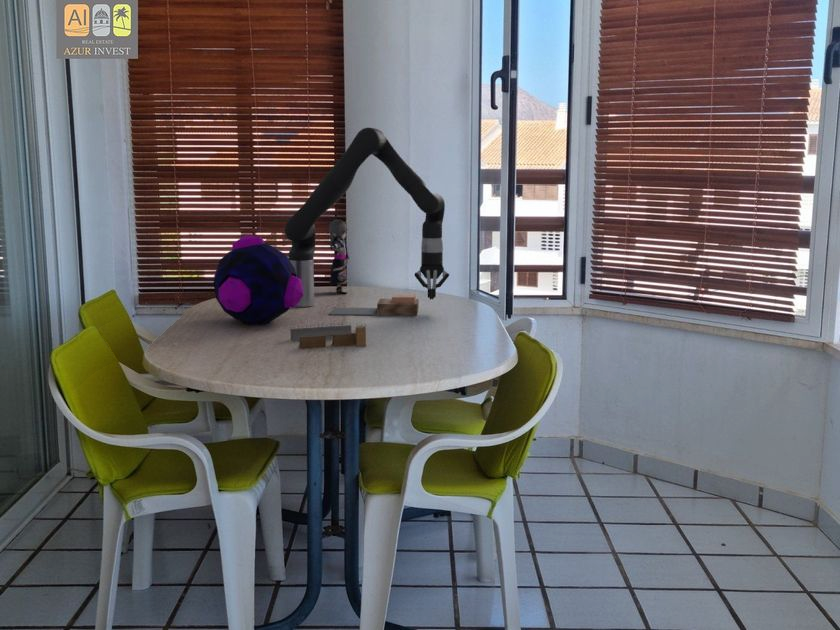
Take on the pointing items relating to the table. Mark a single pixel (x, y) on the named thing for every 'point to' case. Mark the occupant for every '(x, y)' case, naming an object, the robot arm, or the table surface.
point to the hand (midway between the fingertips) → (431, 298)
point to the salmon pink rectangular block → (403, 299)
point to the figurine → (338, 255)
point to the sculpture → (256, 282)
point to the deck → (397, 307)
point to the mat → (353, 311)
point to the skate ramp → (329, 336)
